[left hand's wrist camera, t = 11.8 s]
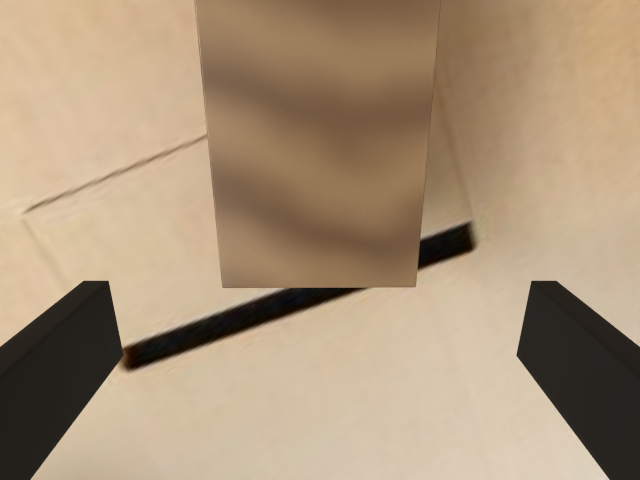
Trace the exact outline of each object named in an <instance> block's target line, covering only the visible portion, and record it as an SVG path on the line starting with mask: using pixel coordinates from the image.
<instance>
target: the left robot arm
mask: <svg viewBox="0 0 640 480" xmlns="http://www.w3.org/2000/svg"><path fill="white" fill-rule="evenodd" d="M122 357H123V351H122V346H121V341H120V336H119V331H118V326H117V321H116V316H115V311H114V306H113V301H112V296H111V291H110V286H109V281H83V282H82V283H80V284H79V285H78V286H77V287H75V288H74V289H73V290H72V291H70V292H69V293H68V294H67V295H65V296H64V297H63V298H61V299H60V300H59V301H58V302H56V303H55V304H54V305H53V306H51V307H50V308H49V309H48V310H46V311H45V312H44V313H43V314H41V315H40V316H39V317H37V318H36V319H35V320H34V321H32V322H31V323H30V324H29V325H27V326H26V327H25V328H24V329H22V330H21V331H20V332H19V333H17V334H16V335H15V336H14V337H12V338H11V339H10V340H8V341H7V342H6V343H5V344H3V345H2V346H1V347H0V480H30V479H31V478H32V477H33V475H34V474H35V473H36V471H37V470H38V469H39V467H40V466H41V465H42V463H43V462H44V461H45V459H46V458H47V457H48V455H49V454H50V453H51V451H52V450H53V449H54V447H55V446H56V445H57V443H58V442H59V441H60V439H61V438H62V437H63V435H64V434H65V433H66V431H67V430H68V429H69V427H70V426H71V425H72V423H73V422H74V421H75V419H76V418H77V417H78V415H79V414H80V413H81V411H82V410H83V409H84V407H85V406H86V405H87V403H88V402H89V401H90V399H91V398H92V397H93V395H94V394H95V393H96V391H97V390H98V389H99V387H100V386H101V385H102V383H103V382H104V381H105V379H106V378H107V377H108V375H109V374H110V373H111V371H112V370H113V369H114V367H115V366H116V365H117V363H118V362H119V361H120V359H121V358H122ZM517 357H518V358H519V359H520V361H521V362H522V363H523V365H524V366H525V367H526V369H527V370H528V371H529V373H530V374H531V375H532V377H533V378H534V379H535V381H536V382H537V383H538V385H539V386H540V387H541V389H542V390H543V391H544V393H545V394H546V395H547V397H548V398H549V399H550V401H551V402H552V403H553V405H554V406H555V407H556V409H557V410H558V411H559V413H560V414H561V415H562V417H563V418H564V419H565V421H566V422H567V423H568V425H569V426H570V427H571V429H572V430H573V431H574V433H575V434H576V435H577V437H578V438H579V439H580V441H581V442H582V443H583V445H584V446H585V447H586V449H587V450H588V451H589V453H590V454H591V455H592V457H593V458H594V459H595V461H596V462H597V463H598V465H599V466H600V467H601V469H602V470H603V471H604V473H605V474H606V475H607V477H608V478H609V479H610V480H640V347H639V346H638V345H637V344H635V343H634V342H633V341H632V340H630V339H629V338H628V337H626V336H625V335H624V334H623V333H621V332H620V331H619V330H618V329H616V328H615V327H614V326H613V325H611V324H610V323H609V322H608V321H606V320H605V319H604V318H603V317H601V316H600V315H599V314H597V313H596V312H595V311H594V310H592V309H591V308H590V307H589V306H587V305H586V304H585V303H584V302H582V301H581V300H580V299H579V298H577V297H576V296H575V295H573V294H572V293H571V292H570V291H568V290H567V289H566V288H565V287H563V286H562V285H561V284H560V283H558V282H557V281H531V286H530V291H529V296H528V301H527V306H526V311H525V316H524V321H523V326H522V331H521V336H520V341H519V346H518V351H517Z"/></svg>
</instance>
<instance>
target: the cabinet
mask: <svg viewBox="0 0 640 480" xmlns="http://www.w3.org/2000/svg"><path fill="white" fill-rule="evenodd" d="M194 1H195V11H196V22H197V32H198V42H199V53H200V63H201V73H202V84H203V94H204V104H205V114H206V125H207V135H208V145H209V156H210V166H211V176H212V186H213V197H214V207H215V217H216V228H217V238H218V248H219V259H220V269H221V279H222V287H223V288H330V287H416V279H417V268H418V256H419V245H420V233H421V222H422V210H423V199H424V188H425V176H426V165H427V153H428V142H429V131H430V119H431V108H432V96H433V85H434V73H435V62H436V51H437V39H438V28H439V16H440V5H441V0H194Z"/></svg>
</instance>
